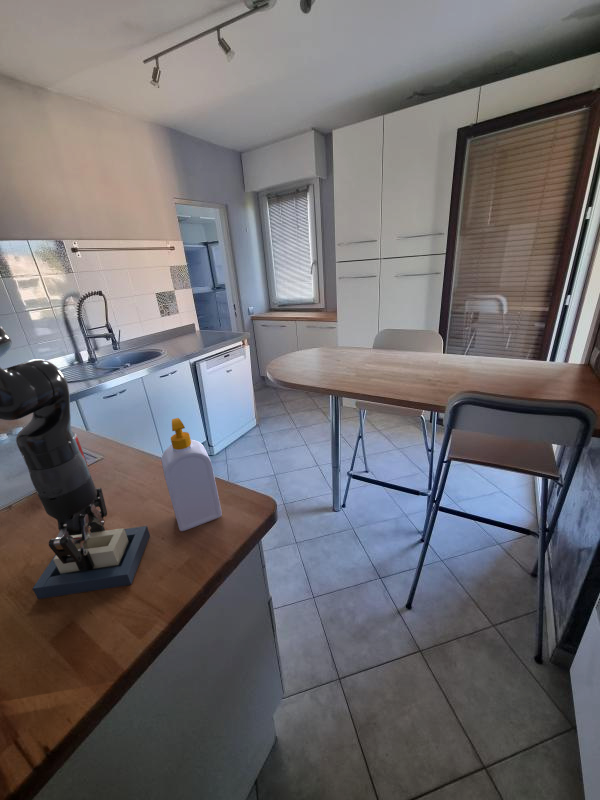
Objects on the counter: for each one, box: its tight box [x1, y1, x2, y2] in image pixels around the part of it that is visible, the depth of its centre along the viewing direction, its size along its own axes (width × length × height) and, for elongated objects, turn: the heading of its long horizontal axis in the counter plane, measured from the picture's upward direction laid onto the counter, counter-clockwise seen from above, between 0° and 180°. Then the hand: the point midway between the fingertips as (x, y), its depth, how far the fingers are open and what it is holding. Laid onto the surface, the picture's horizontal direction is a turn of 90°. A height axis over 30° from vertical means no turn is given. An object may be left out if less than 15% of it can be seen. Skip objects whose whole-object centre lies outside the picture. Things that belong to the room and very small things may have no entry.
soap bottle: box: [161, 417, 223, 532], centre depth 69 cm, size 9×7×23 cm
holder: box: [32, 525, 151, 600], centre depth 62 cm, size 16×12×3 cm
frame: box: [52, 527, 129, 574], centre depth 62 cm, size 10×6×4 cm, turn 97°
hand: (95, 554), depth 62 cm, fingers closed on frame, 5 cm apart
